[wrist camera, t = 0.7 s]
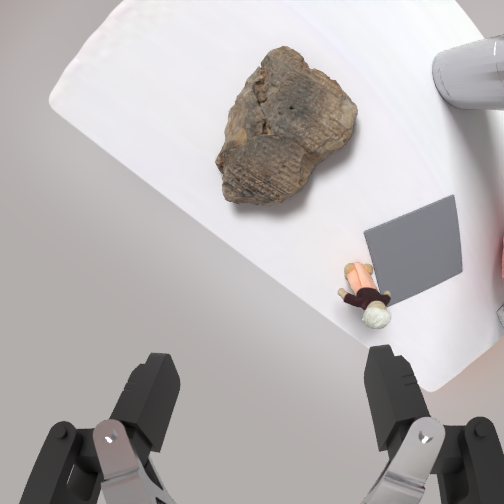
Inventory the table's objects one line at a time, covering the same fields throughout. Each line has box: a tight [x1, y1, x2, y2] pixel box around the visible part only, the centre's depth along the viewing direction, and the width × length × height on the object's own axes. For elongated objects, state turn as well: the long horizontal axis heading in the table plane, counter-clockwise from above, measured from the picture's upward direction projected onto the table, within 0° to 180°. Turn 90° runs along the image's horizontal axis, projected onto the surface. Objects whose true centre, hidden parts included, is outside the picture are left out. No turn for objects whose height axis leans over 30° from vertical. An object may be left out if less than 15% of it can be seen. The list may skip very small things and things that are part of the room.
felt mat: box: [364, 195, 462, 307], centre depth 39 cm, size 16×14×1 cm
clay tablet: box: [215, 46, 358, 206], centre depth 32 cm, size 14×5×20 cm
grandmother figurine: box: [338, 262, 391, 329], centre depth 35 cm, size 8×4×13 cm, turn 97°
